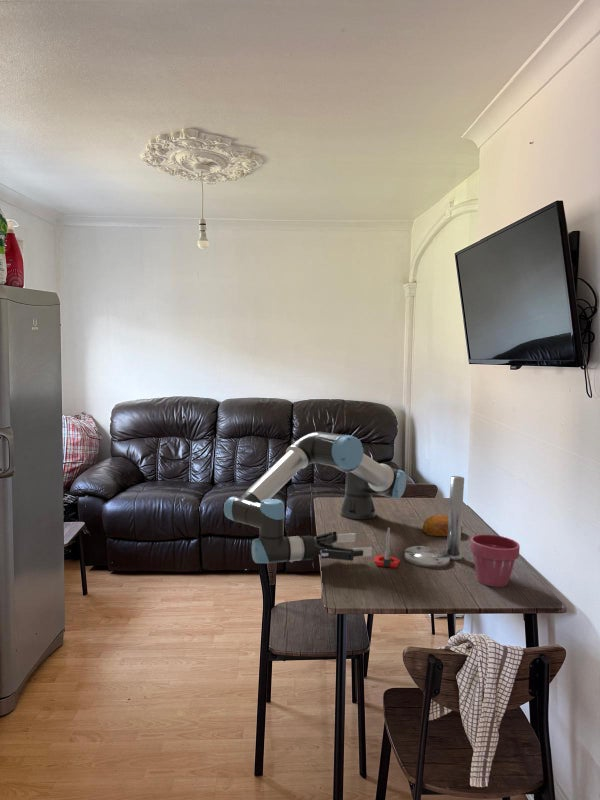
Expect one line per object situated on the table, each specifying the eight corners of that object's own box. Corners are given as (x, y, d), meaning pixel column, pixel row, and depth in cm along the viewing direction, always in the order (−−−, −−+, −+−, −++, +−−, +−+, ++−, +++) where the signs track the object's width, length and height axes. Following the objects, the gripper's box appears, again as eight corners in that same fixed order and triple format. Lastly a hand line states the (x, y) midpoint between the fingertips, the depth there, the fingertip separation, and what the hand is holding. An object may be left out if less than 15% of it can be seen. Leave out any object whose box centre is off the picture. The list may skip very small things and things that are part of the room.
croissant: (464, 544, 216) (469, 524, 215) (425, 537, 215) (429, 517, 214) (453, 531, 231) (457, 512, 230) (416, 525, 230) (420, 506, 229)
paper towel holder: (397, 553, 197) (401, 474, 195) (449, 549, 203) (453, 472, 201) (417, 569, 183) (422, 484, 180) (473, 564, 189) (478, 482, 186)
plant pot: (507, 573, 182) (510, 534, 181) (524, 591, 168) (527, 550, 167) (463, 571, 182) (465, 532, 181) (475, 589, 168) (478, 547, 167)
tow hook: (374, 557, 193) (373, 566, 184) (376, 520, 192) (375, 527, 183) (399, 560, 192) (399, 569, 182) (401, 522, 191) (402, 529, 182)
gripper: (289, 546, 190) (348, 542, 197) (312, 575, 167) (378, 569, 173) (290, 524, 190) (349, 521, 196) (313, 550, 166) (379, 545, 172)
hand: (363, 544), depth 184 cm, fingers open, 13 cm apart
